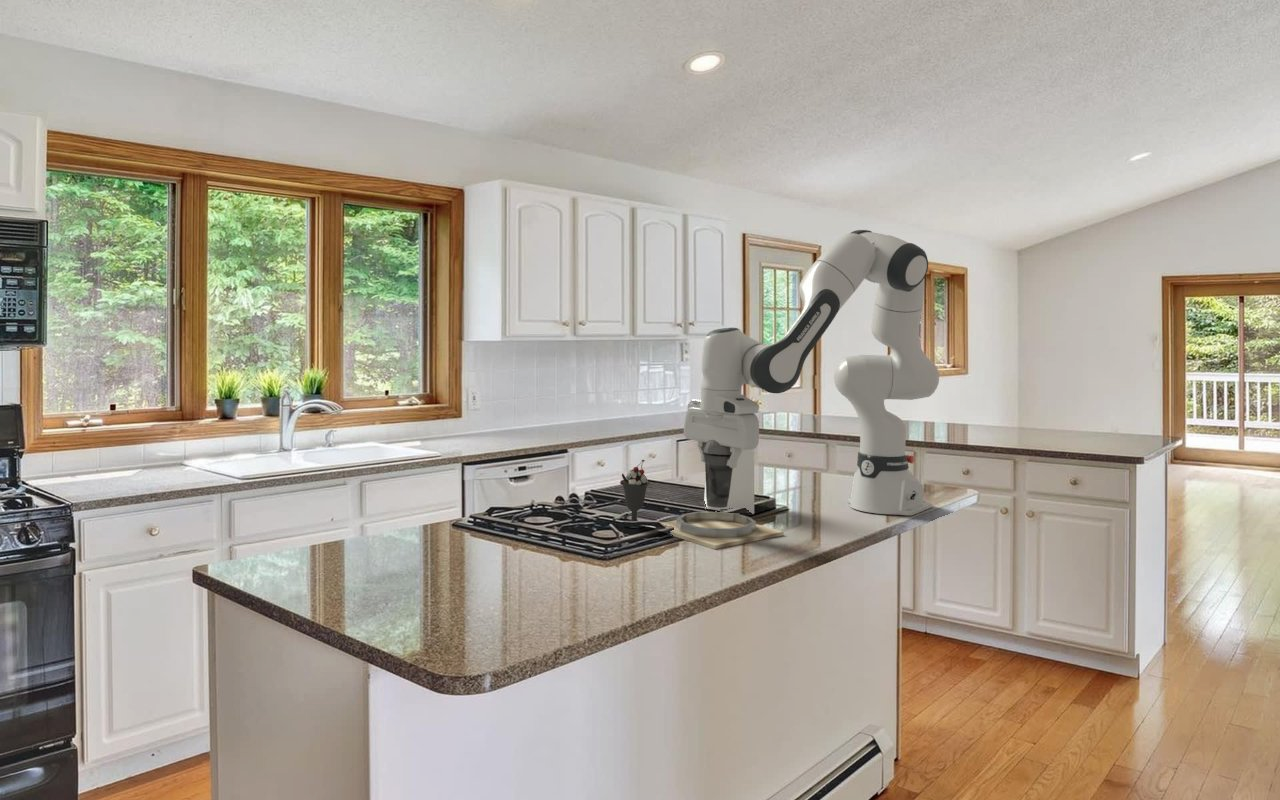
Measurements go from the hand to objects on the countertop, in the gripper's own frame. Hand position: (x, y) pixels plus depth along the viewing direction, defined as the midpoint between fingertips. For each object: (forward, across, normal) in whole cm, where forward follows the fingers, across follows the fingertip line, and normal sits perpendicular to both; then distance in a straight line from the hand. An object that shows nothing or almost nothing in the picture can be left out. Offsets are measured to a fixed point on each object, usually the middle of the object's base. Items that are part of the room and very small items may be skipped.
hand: (718, 464), depth 190 cm
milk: (+15, -16, +20) cm, 30 cm away
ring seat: (+15, 0, 0) cm, 15 cm away
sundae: (+15, -14, -12) cm, 24 cm away
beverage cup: (+9, 0, 0) cm, 9 cm away
